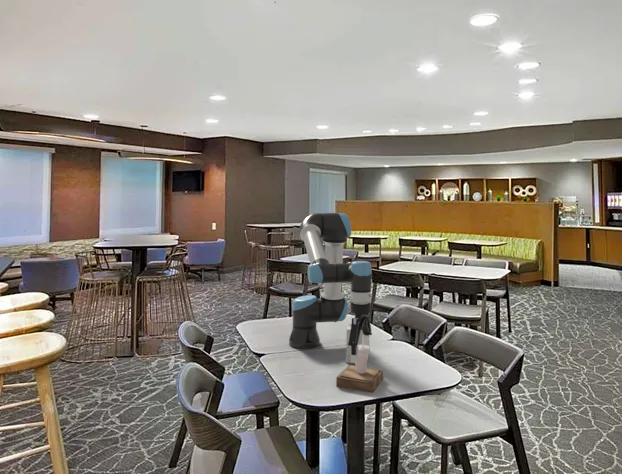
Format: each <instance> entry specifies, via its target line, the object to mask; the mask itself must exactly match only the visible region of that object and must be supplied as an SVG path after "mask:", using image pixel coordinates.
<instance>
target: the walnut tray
mask: <svg viewBox="0 0 622 474" xmlns="http://www.w3.org/2000/svg"><path fill="white" fill-rule="evenodd" d="M383 379H384V370H383V369H377V368H370V367H367V368H366V373H363V374H360V373H357V372H356V365H353V364H349V365H348V366H347V367H345V368H344V369H343V370H342V371H341V372H340V373H339V374H338V375H337V376H336V379H335V380H336V382H335V384H336V388H337V387H338V388H343V389H348V390H354V391H359V392H363V393H369V394H374V392H375V391H376V389H377V388H378V387H379V385H380V384H381V383H382V381H383Z"/></svg>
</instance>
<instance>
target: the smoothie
mask: <svg viewBox="0 0 622 474" xmlns="http://www.w3.org/2000/svg"><path fill="white" fill-rule="evenodd" d="M363 344H364V336H362V345H357V346H358V364H356V363H354V364H355V365H354V366H356V372H357V373H360V374H363V373H366V368H368V367H367V366H368V358H369V353H370V345H369V346H367V345H363Z"/></svg>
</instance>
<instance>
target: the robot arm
mask: <svg viewBox="0 0 622 474" xmlns="http://www.w3.org/2000/svg"><path fill="white" fill-rule="evenodd" d="M298 234H299V236H300V238H301V241H302V242H303V243H304V246H305V249H306V253H307V256H308V261H309V263H310V264H309V265H308V266H307V278H308V282H309V283H311V284H324V285H323V291H322V292H321V293H320V297H319V298H317V296H316V295H310V294H309V295H308V294H307V295H302V296H298V297H296V298H294V299H293V302H292V309H291V310H292V329H291V333H290V336H289V339H288V345H289V346H290V347H292V348H296V349H313V348H316V347H319V346H321V345H320V344H321V338H320V336H319V332H318V330H317V329H318V328H317V323H337V322H338V323H339V322H342V321H344V320H345V319H346V318H347V315H348V310H349V306H348V299H347V297H345V294H344V293H343V292H342V286H343V284H342V283H350V301H351V302H350V312H351V313H352V314H354V317H352V318H351V324H352V325H351V331H350V337H349V343H348V345H349V346H351V363H350V364H355V363H356V364H358V346H357V345H358V340H359V336H360V332H361V330H362V331H363V334H364V335H362V336H364V344H363V345H367V346H369V347H370V336H372V334H373V332H372V327H371V326H372V324H371V319H370V313H372V312H371V311H372V303H371V301H372V299H371V298H372V297H373V294H372V272H373V271H372V264H371V262H370V261H367V260H354V261H349V262H346V263H345V262H344V260H343V259H344V245H345V244H346V243H347V240H348V238H350V237H351V236H352V235H351V234H352V227H351V219H350V217H349V216H348V214H347V213H343V212H324V213H323V212H315V213H312V214H310V215H308V216H307V217H305V218H304V219H303V220H302V221H301V224H300V225H299V233H298ZM324 244H325V247H324ZM343 262H344V263H343ZM353 342H354V343H353Z"/></svg>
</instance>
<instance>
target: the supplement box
mask: <svg viewBox="0 0 622 474" xmlns="http://www.w3.org/2000/svg"><path fill="white" fill-rule="evenodd" d="M351 325H352V323H351V324H348V325H347V328H346V344H345V345H346V347H345V349H346V350H345V352H346V353H345V356H346V357H345V362H346V364H352V363H351V346H349V345H348V343H349V337H350V331H351ZM362 335H364V334H363V331H362V330H361V332H360V336H359V340H358V345H362ZM353 343H354V342H353Z"/></svg>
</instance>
